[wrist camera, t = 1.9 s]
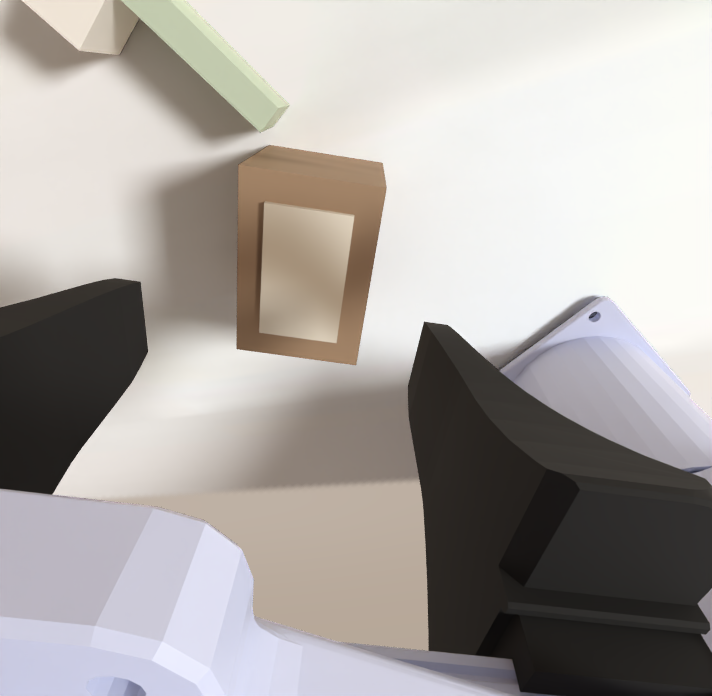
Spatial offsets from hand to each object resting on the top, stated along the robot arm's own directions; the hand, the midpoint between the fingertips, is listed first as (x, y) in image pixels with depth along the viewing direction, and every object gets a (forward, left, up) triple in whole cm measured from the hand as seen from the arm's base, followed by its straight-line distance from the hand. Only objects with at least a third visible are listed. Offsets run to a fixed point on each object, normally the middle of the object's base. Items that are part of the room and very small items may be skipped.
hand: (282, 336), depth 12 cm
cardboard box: (0, 0, -9) cm, 9 cm away
